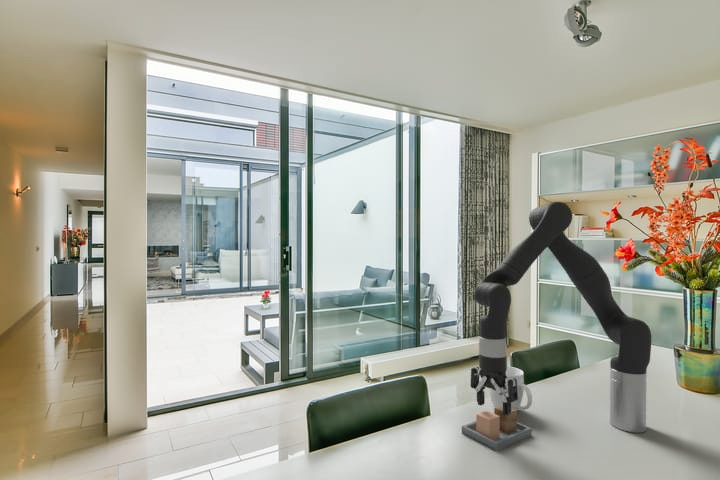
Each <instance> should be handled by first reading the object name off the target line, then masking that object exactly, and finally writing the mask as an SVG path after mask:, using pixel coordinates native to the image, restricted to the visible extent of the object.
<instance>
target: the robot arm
mask: <svg viewBox="0 0 720 480" xmlns="http://www.w3.org/2000/svg"><path fill="white" fill-rule="evenodd" d="M572 212H573V211H572V209H571V208H570V206H569V205H568V204H566V203H565V202H562V201H553V202H549V203H545V204H544V205H541V206H538V207H535V208H534V209H532V210H531V211H530V213H529V216H528V217H529V218H528V220H529V225H530V227H531V229H532V232H531V233H530V234H528V236H527V237H526V238H525V239H523V240H522V241H521V242H519V243H518V244H517V245H516V246H515V247H513V249H511V251H510V252H509V253H508V254H507V255H505V257H504V258H503V260H502V261H501V262H500V263H499V265H498V267H496V268H495V269H494V270H492V271H491V272H490V273H488V275H486V276H485V277H483V278H482V279H481V280H480V281H479V283H477V284H476V287H475V289H474V294H473V296H474V300H475V301H476V303H478V304H479V305H481V306H483V307H487V308H489V309H488V312H487V314H485V315H482V316H481V317H480V318H479V341H478V366H475V367H472V368H471V369H470V388H472V389H474V390H475V392H476V402H477V405H478V406H483V405H485V398H486V397H485V391H484V390H485V389H486V388H488V389H489V388H491V389H493V390H496V391H497V392H498V394H499V395H500V396H501V397H502V399H503V401H504V402H503V415H505V416H507V415H509V414H510V413H511V402H514V401H516V400H518V391H517V380H516V379H515V378H513V379H510V378H507V376H506V370H507V366H508V358H507V357H508V355H507V353H508V352H507V351H508V350H507V349H508V347H507V346H508V345H507V334H506V333H507V331H506V330H507V329H506V323H507V319H508V315H509V311H510V307H511V303H512V295H511V292H510V289H509V288H508V287H511V286H514V285H517V284H518V283H519V282H520V281H521V279H522V278H523V277H524V275H525V274H526V273H527V272H528V271H529V269H530V267H532V265H533V263H534V262H535V261H536V260H537V259H538V258H539V257H540V255H541V254H542V253H543V252H544V251H545V250H546V249H548V250H549V251H550V252H551V253H552V255H553V256H554V257H555V259H556V260H557V262H558V263H559V264H560V266H561V267H562V268H563V270H564V272H565V273H566V274H567V276H568V278H569V279H570V281H571V282H572V284H573V285H574V286H575V287H576V289H577V291H579V293H580V294H581V296H582V297H583V299H584V300H585V302H586V304H587V305H588V306H589V307H590V308H591V310H592V312H593V313H594V314H595V316H596V319H597V320H598V322H599V323H600V325H601V327H602V330H603V331H604V333H605V334H606V336H607V337H608V339H609V340H610V341H611V342H613V343H615V344H616V345H618V346H619V347H618V355H615V356H613V357H611V358H610V363H609V365H610V367H609V377H610V378H609V381H610V382H609V385H610V387H609V424H610V425H611V426H613V427H615V429H616V428H617V429H619V430H620V431H626V432H627V433H628V432H630V433H636V434H637V433H645V432H646V430H647V372H648V371H647V370H648V366H649V364H650V362H651V361H650V360H651V350H652V332H651V328H650V326H649V325H648V324H647V323H646V322H645V321H643V320H640V319H638V318H635V317H631V316H628V315H626V313H625V312H624V311H623V310H622V309H621V308H620V306H619V304H617V302H616V301H615V299H614V297H613V292H612V286H611V282H610V279H609V276H608V275H607V273H606V272H605V270H604V269H603V267H602V266H601V264H600V263H599V262H598V260H597V259H596V258H595V257H594V256H592V255H591V254H590V253H588V251H586V250H584V249H583V248H581V247H579V246H578V245H576V243H574V242H572V241H571V240H570V239H569V237H568V236H567V235H566V233H564V232H565V231H566V230H567V229H568V228H569V226H571V224H572V221H573V213H572ZM480 378H481V380H480ZM505 383H507V385H506V384H505ZM507 386H508V387H507ZM502 387H503V390H501V388H502ZM505 395H506V396H505Z"/></svg>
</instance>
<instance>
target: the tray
mask: <svg viewBox="0 0 720 480" xmlns="http://www.w3.org/2000/svg"><path fill="white" fill-rule="evenodd" d="M461 434H463V435H464V436H466V437H469V438H470V439H472V440H473V441H474V440H475V441H477V442H478V443H480V444H482V445H484V446H486V447H488V448H489V449H492V450H493V451H495V452H498V451H500V450H502V449H504V448H506V447H508V446H511V445H513V444H514V443H517V442H519V441H522V440H523V439H527V438H528V437H530V436H532V428H531V427H529V426H527V425H524V424H522V423H520V422H518V421H517V430H516V431H513V432H511V433H509V434H506V433H504V432H502V431H500V433H499V438H497V439H494V440H492V439H490V438H488V437H486V436H484V435H482V434H480V433H478V432H476V420H475V421H472V422H469V423H467V424H464V425H461Z"/></svg>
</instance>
